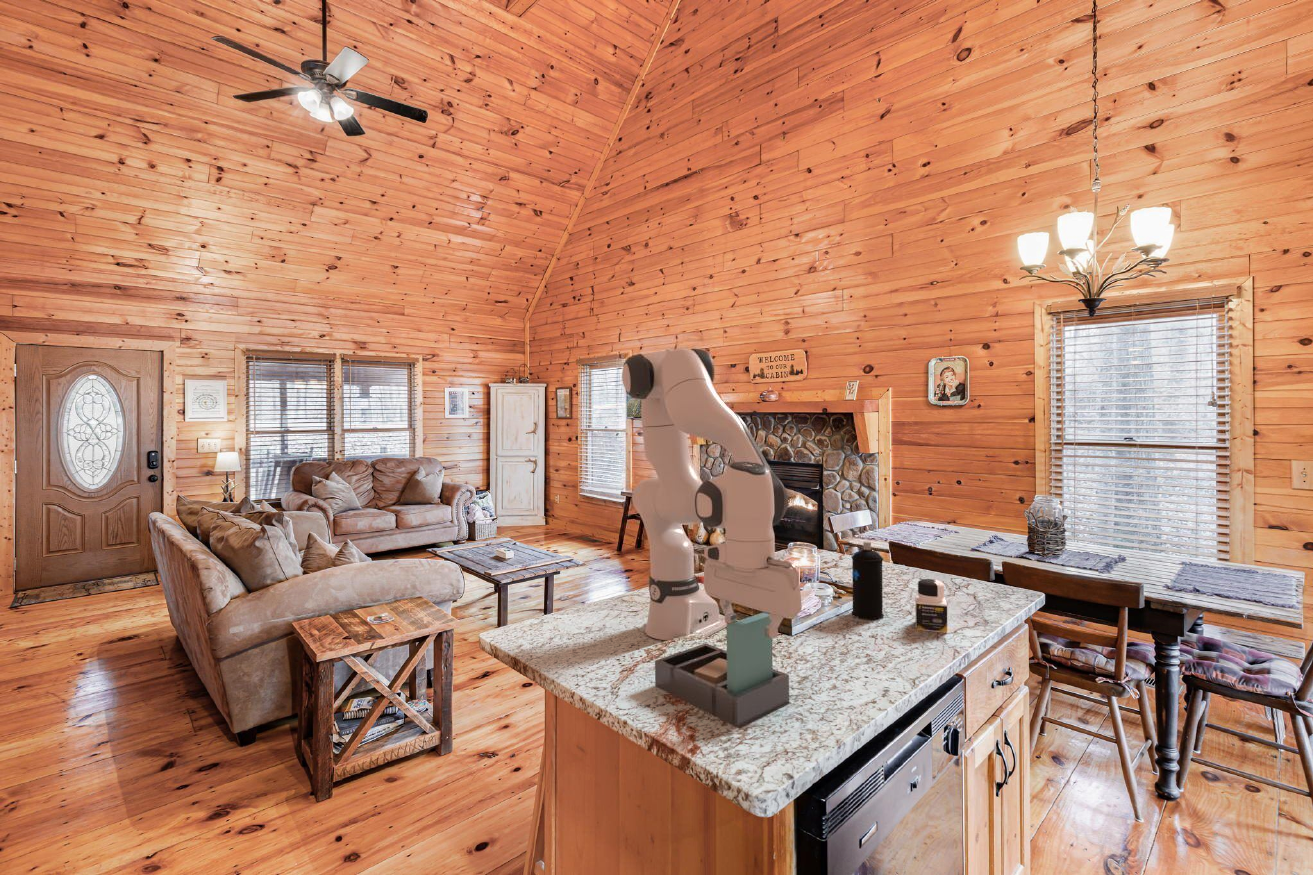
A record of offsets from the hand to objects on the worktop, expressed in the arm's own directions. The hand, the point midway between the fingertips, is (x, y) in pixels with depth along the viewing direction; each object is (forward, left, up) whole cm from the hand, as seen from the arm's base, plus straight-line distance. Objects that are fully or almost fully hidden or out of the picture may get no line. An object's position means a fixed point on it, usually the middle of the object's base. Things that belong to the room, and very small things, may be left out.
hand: (750, 630), depth 107 cm
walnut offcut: (0, -8, -12) cm, 14 cm away
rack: (0, -6, -16) cm, 17 cm away
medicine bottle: (-70, 0, -16) cm, 72 cm away
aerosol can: (-67, -16, -16) cm, 71 cm away
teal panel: (0, 0, -14) cm, 14 cm away
